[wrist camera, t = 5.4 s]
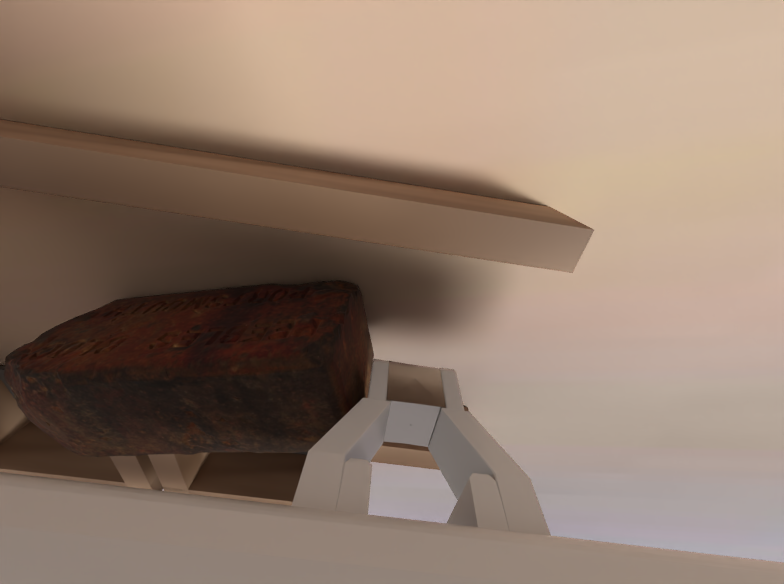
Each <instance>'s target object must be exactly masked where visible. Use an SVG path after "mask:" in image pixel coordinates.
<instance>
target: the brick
mask: <svg viewBox="0 0 784 584" xmlns="http://www.w3.org/2000/svg"><path fill="white" fill-rule="evenodd" d="M373 356H374V354H373V348H372V343H371V339H370V334H369V330H368V325H367V319H366V314H365V310H364V306H363V300H362V295H361V293H360V290H359V287H358V286H357V285H354V284H352V283H349V282H345V281H337V280H336V281H330V282H324V281H323V282H316V283H307V284H303V285H278V284H265V285H257V286H243V287H237V288H225V289H217V290H207V291H197V292H190V293H180V294H168V295H157V296H150V297H140V298H130V299H120V300H116V301H113V302H111V303H109V304H107V305H105V306H103V307H100V308H98V309H96V310H93V311H91V312H88V313H86V314H83V315H81V316H78V317H75V318H73V319H71V320H69V321H67V322H64V323H62V324H60V325H58V326H56V327H54V328H52V329H50V330H48V331H46V332H45V333H43V334H41V335H40V336H39V337H38V338H37V339H36V340H34V341H33V342H31V343H28V344H25V345H23V346H22V347H20V348H18V349H16V350H15V351H13V352H12V353H10V354H9V355H8V356H7V357H6V361H5V364H6V365H5V370H4V374H3V375H4V378H5V380H6V383H7V384H8V385H9V386H10V387H11V389H12V392H13V393H14V397H15V399H16V402H17V405H18V407H19V408H20V409H21V411H22V412H23V413H24V415H25V416H26V417H27V419H28V420H30V421H31V422H32V423H33V424H35V425H36V426H37V427H38V428H40V429H41V430H42V431H43V432H45V433H46V434H47V435H49V436H50V437H51V438H53V439H54V440H56V441H57V442H58V443H60V444H61V445H62V446H63V447H65V448H66V449H68V450H70V451H71V452H73V453H75V454H78V455H80V456H86V457H105V456H140V455H154V454H184V455H193V454H198V453H202V452H203V453H212V452H254V453H265V452H269V453H282V452H283V453H295V452H308V451H309V450H310V449H311V448H312V447H313V446H314V445H315V444H316V443H317V442H318V441H319V440H320V439H321V438H322V437H323V436H324V435H325V434H326V433H327V432H328V431H329V430H330V429H331V428H332V427H333V426H334V425H336V424H337V423H338V422H339V421H340V420H341V419H342V418H343V417H344V416H345V415H346V414H347V413H348V412H349V411H350V410H351V409H352V408H353V407H354V406H355V405H356V404H357V403H358V402H359V401H360V400H361V399H362V398H368V389H369V382H370V375H371V369H372V363H373Z"/></svg>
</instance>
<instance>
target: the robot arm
mask: <svg viewBox="0 0 784 584" xmlns="http://www.w3.org/2000/svg"><path fill="white" fill-rule="evenodd" d="M383 441H384V442H395V443H405V444H412V445H418V446H425V447H428V449H429V451H430V453H431V455H432V456H433V458H434V460H435V462H436V463H437V465H438V467H439V469H440V470H441V472H442V474H443V475H444V477H445V479H446V481H447V482H448V484H449V486H450V488H451V489H452V491H453V493H454V495H455V496H456V498H457V500H458V501H457V503H456V505H455V507H454V509H453V511H452V513H451V515H450V517H449V519H448V521H447V523H446V524H445V523H437V522H428V521H419V520H411V519H402V518H393V517H384V516H376V515H368V506H369V495H370V484H371V472H372V465H371V464H370V461H371V460H372V458H373V457H374V455H375V454H376V453H377V451H378V450H379V448H380V447H381V445H382V444H383ZM0 584H784V563H782V562H774V561H765V560H756V559H747V558H739V557H730V556H721V555H713V554H704V553H695V552H687V551H678V550H669V549H661V548H652V547H643V546H635V545H626V544H617V543H609V542H600V541H591V540H583V539H574V538H565V537H557V536H551V535H550V532H549V529H548V526H547V524H546V521H545V518H544V515H543V513H542V510H541V507H540V504H539V502H538V499H537V496H536V493H535V491H534V488H533V485H532V482H531V480H530V478H529V477H528V476H527V475H526V474H525V472H524V471H523V470H522V469H521V468H520V467H519V466H518V465H517V464H516V463H515V461H514V460H513V459H512V458H511V457H510V456H509V455H508V454H507V453H506V452H505V450H504V449H503V448H502V447H501V446H500V445H499V444H498V443H497V442H496V440H495V439H494V438H493V437H492V436H491V435H490V434H489V433H488V432H487V431H486V429H485V428H484V427H483V426H482V425H481V424H480V423H479V422H478V421H477V420H476V418H475V417H474V416H473V415H472V414H471V413H470V412H469V411H465V410H464V406H463V401H462V397H461V392H460V388H459V383H458V379H457V374H456V371H455V370H453V369H444V368H435V367H427V366H419V365H411V364H405V363H399V362H392V361H389V362H388V361H384V360H378V359H373V363H372V370H371V377H370V384H369V391H368V398H362V399H361V400H360V401H359V402H358V403H357V404H356V405H355V406H354V407H353V408H352V409H351V410H350V411H349V412H348V413H347V414H346V415H345V416H344V417H343V418H342V419H341V420H340V421H339V422H338V423H337V424H336V425H334V426H333V427H332V428H331V429H330V430H329V431H328V432H327V433H326V434H325V435H324V436H323V437H322V438H321V439H320V440H319V441H318V442H317V443H316V444H315V445H314V446H313V447H312V448H311V449H310V450H309V451H308V454H307V457H306V460H305V464H304V467H303V470H302V473H301V477H300V480H299V483H298V486H297V489H296V493H295V496H294V499H293V502H292V506H289V505H281V504H272V503H263V502H255V501H246V500H237V499H229V498H220V497H211V496H203V495H194V494H185V493H177V492H168V491H159V490H151V489H142V488H133V487H125V486H116V485H108V484H99V483H90V482H82V481H73V480H65V479H56V478H47V477H39V476H30V475H22V474H13V473H5V472H0Z"/></svg>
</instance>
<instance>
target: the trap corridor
mask: <svg viewBox="0 0 784 584" xmlns="http://www.w3.org/2000/svg"><path fill="white" fill-rule="evenodd" d="M0 187H5V188H12V189H19V190H25V191H32V192H39V193H45V194H52V195H59V196H65V197H72V198H78V199H85V200H92V201H98V202H105V203H112V204H118V205H125V206H132V207H138V208H145V209H152V210H158V211H165V212H171V213H178V214H185V215H191V216H198V217H205V218H211V219H218V220H225V221H231V222H238V223H245V224H251V225H258V226H264V227H271V228H278V229H284V230H291V231H298V232H304V233H311V234H318V235H324V236H331V237H338V238H344V239H351V240H357V241H364V242H371V243H377V244H384V245H391V246H397V247H404V248H411V249H417V250H424V251H431V252H437V253H444V254H450V255H457V256H464V257H470V258H477V259H484V260H490V261H497V262H504V263H510V264H517V265H523V266H530V267H537V268H543V269H550V270H557V271H563V272H570V273H573V271H574V269H575V267H576V265H577V263H578V261H579V259H580V257H581V255H582V253H583V251H584V249H585V247H586V245H587V243H588V241H589V239H590V237H591V235H592V233H593V231H594V230H593V229H592V228H590V227H588V226H586V225H584V224H582V223H580V222H578V221H576V220H574V219H572V218H570V217H568V216H566V215H564V214H563V213H561V212H559V211H557V210H555V209H553V208H551V207H547V206H541V205H535V204H528V203H522V202H516V201H510V200H503V199H497V198H491V197H485V196H478V195H472V194H466V193H460V192H453V191H447V190H441V189H434V188H428V187H422V186H416V185H409V184H403V183H397V182H391V181H384V180H378V179H372V178H366V177H359V176H353V175H347V174H340V173H334V172H328V171H322V170H315V169H309V168H303V167H297V166H290V165H284V164H278V163H272V162H265V161H259V160H253V159H246V158H240V157H234V156H228V155H221V154H215V153H209V152H203V151H196V150H190V149H184V148H178V147H171V146H165V145H159V144H152V143H146V142H140V141H134V140H127V139H121V138H115V137H109V136H102V135H96V134H90V133H83V132H77V131H71V130H65V129H58V128H52V127H46V126H40V125H33V124H27V123H21V122H15V121H8V120H2V119H0ZM4 370H5V366H0V472H5V473H13V474H22V475H30V476H39V477H47V478H56V479H65V480H73V481H82V482H90V483H99V484H108V485H116V486H125V487H133V488H142V489H151V490H159V491H162V489H164V491H168V492H177V493H185V494H194V495H203V496H211V497H220V498H229V499H237V500H246V501H255V502H263V503H272V504H281V505H289V506H292V502H293V499H294V496H295V493H296V489H297V486H298V483H299V480H300V477H301V473H302V470H303V467H304V464H305V460H306V457H307V454H308V452H295V453H283V452H282V453H269V452H265V453H254V452H212V453H203V452H202V453H198V454H193V455H184V454H154V455H140V456H105V457H86V456H80V455H78V454H75V453H73V452H71V451H70V450H68V449H66V448H65V447H63V446H62V445H61V444H60V443H58V442H57V441H56V440H54V439H53V438H51V437H50V436H49V435H47V434H46V433H45V432H43V431H42V430H41V429H40V428H38V427H37V426H36V425H35V424H33V423H32V422H31V421H30V420H28V419H27V417H26V416H25V415H24V413H23V412H22V411H21V409H20V408H19V407H18V405H17V402H16V399H15V397H14V393H13V392H12V389H11V387H10V386H9V385H8V384H7V383H6V380H5V378H4V375H3V374H4ZM464 410H465V411H468V407H464ZM371 462H379V463H387V464H396V465H404V466H412V467H421V468H429V469H437V470H440V469H439V467H438V465H437V463H436V462H435V460H434V458H433V456H432V455H431V453H430V451H429V449H428V447H425V446H418V445H412V444H405V443H395V442H384V441H383V444H382V445H381V447H380V448H379V450H378V451H377V453H376V454H375V455H374V457H373V458H372V460H371Z"/></svg>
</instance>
